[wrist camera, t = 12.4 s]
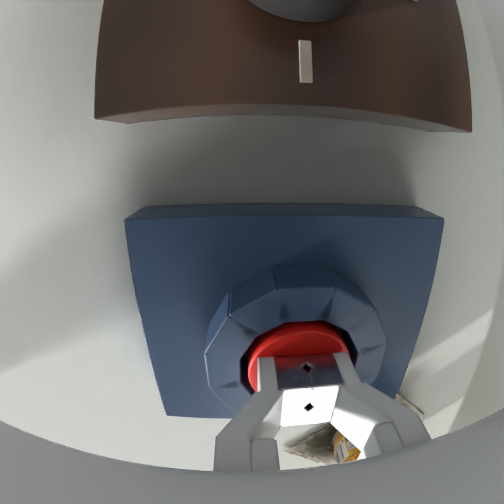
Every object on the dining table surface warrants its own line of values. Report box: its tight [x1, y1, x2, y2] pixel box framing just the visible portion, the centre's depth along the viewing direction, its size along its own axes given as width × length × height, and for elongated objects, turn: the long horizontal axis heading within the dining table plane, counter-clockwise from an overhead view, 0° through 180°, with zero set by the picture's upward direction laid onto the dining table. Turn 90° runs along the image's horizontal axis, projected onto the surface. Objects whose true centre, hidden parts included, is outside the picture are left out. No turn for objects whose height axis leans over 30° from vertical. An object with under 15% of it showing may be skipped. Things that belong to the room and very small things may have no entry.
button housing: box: [124, 203, 444, 418], centre depth 12 cm, size 12×10×4 cm
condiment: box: [284, 394, 426, 465], centre depth 12 cm, size 7×8×12 cm
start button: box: [247, 320, 350, 392], centre depth 10 cm, size 4×4×2 cm
